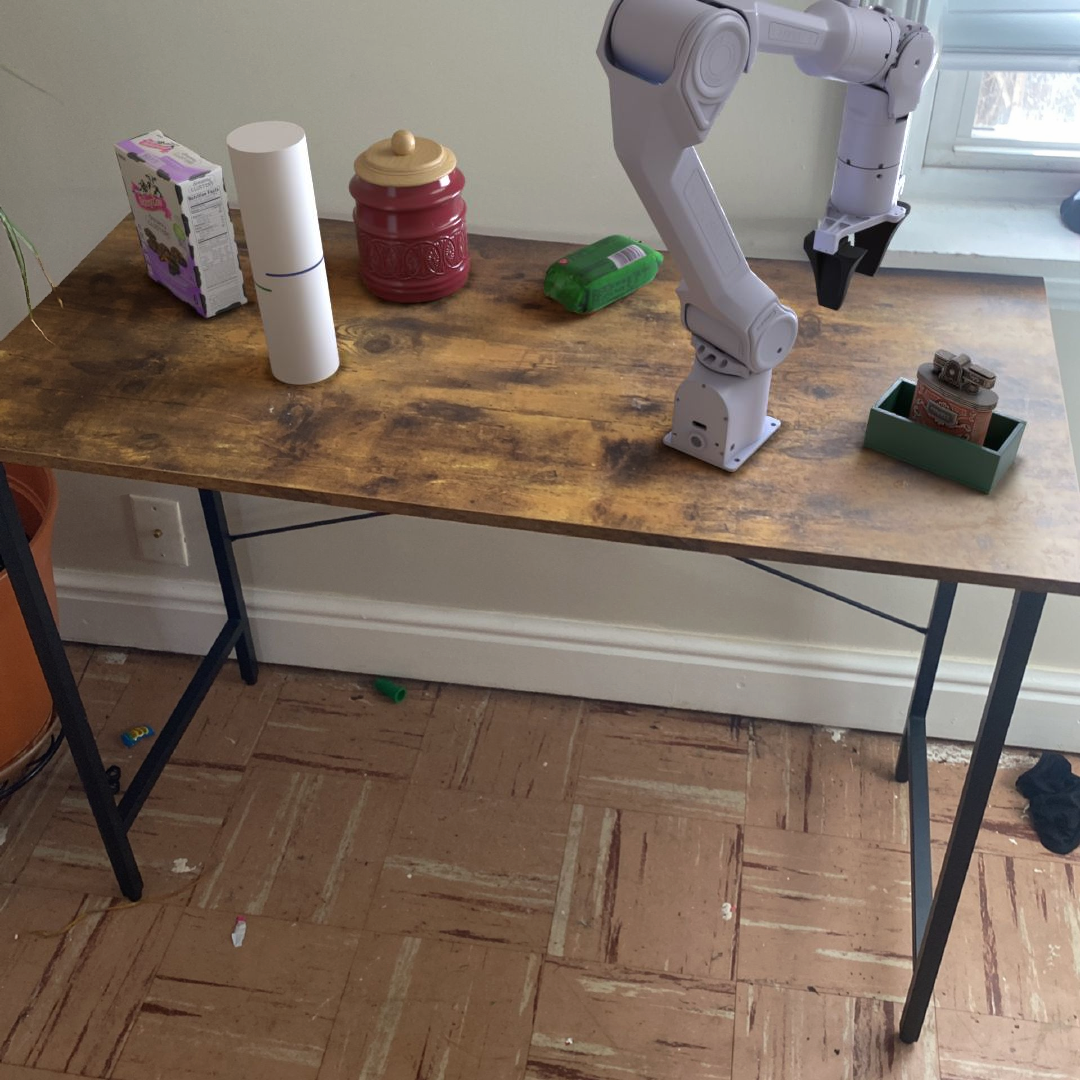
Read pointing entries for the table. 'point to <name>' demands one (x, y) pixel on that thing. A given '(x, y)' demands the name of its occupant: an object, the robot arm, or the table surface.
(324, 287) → the cylindrical container
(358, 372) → the table surface
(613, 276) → the snack package
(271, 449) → the table surface
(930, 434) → the green open box
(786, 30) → the robot arm
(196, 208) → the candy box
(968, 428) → the lighter
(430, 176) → the kitchen canister
